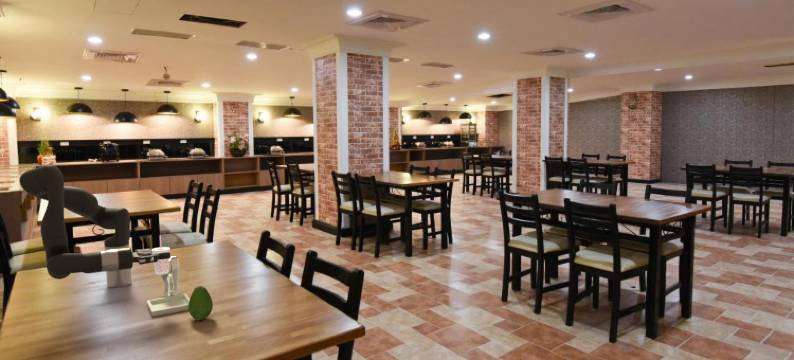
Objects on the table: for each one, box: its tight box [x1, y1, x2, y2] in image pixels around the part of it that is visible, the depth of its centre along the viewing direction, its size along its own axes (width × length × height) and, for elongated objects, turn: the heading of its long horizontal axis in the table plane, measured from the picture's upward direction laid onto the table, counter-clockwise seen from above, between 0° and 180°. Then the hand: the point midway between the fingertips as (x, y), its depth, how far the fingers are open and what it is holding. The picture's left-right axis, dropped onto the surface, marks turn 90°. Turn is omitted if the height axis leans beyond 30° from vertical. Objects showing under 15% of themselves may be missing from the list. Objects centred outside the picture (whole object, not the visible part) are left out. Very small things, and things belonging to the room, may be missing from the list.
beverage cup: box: [152, 235, 171, 276], centre depth 181 cm, size 6×6×14 cm
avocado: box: [187, 285, 214, 321], centre depth 172 cm, size 8×8×12 cm
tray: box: [145, 293, 191, 318], centre depth 184 cm, size 14×14×2 cm
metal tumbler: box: [160, 255, 181, 298], centre depth 198 cm, size 7×7×15 cm
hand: (168, 253), depth 182 cm, fingers closed on beverage cup, 6 cm apart
